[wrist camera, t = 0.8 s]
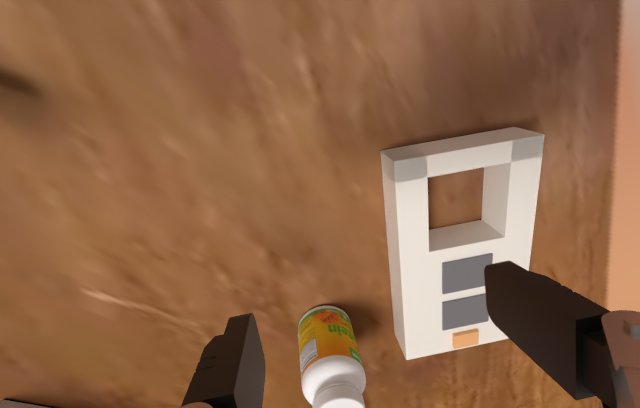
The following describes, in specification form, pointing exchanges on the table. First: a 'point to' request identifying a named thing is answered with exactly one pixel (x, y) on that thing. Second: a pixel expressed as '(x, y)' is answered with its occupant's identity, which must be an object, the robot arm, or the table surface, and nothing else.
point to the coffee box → (17, 405)
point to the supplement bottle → (330, 360)
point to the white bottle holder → (456, 235)
